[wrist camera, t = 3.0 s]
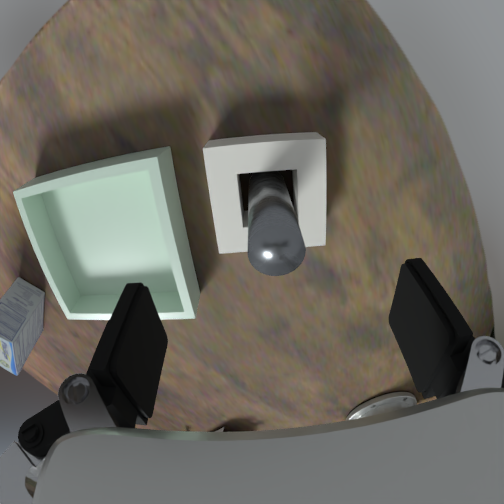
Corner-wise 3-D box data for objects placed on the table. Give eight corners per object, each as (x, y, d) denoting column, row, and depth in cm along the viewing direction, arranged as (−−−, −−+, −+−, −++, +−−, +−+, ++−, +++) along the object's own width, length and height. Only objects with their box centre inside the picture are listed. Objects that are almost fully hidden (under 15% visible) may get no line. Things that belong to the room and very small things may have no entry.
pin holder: (316, 132, 21) (325, 139, 18) (317, 227, 25) (325, 245, 23) (208, 140, 21) (202, 148, 19) (222, 234, 26) (219, 253, 23)
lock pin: (283, 166, 22) (305, 223, 14) (285, 200, 24) (305, 273, 15) (247, 169, 23) (244, 228, 14) (250, 203, 24) (250, 277, 16)
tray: (170, 146, 22) (157, 156, 19) (200, 293, 29) (195, 318, 26) (34, 177, 22) (12, 191, 19) (80, 297, 29) (67, 319, 26)
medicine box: (19, 274, 28) (-19, 322, 21) (47, 291, 29) (11, 344, 22) (19, 314, 31) (-10, 359, 24) (44, 330, 33) (17, 378, 25)
